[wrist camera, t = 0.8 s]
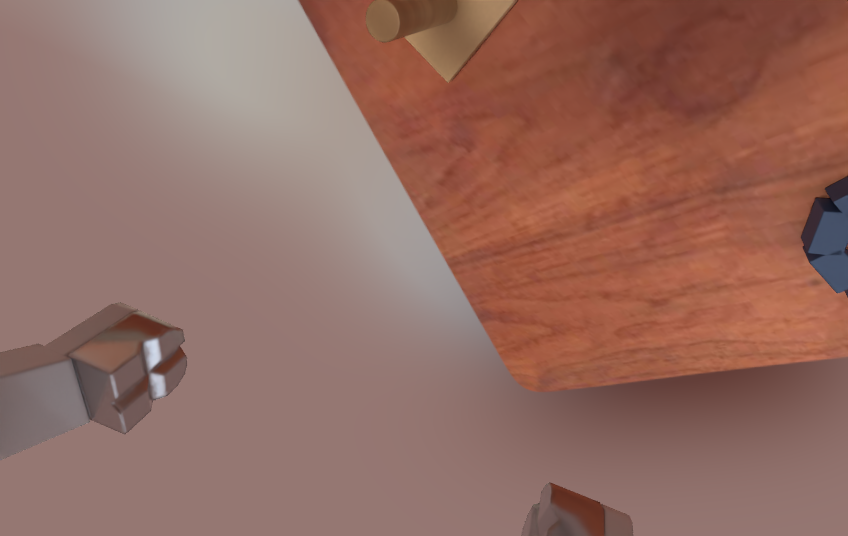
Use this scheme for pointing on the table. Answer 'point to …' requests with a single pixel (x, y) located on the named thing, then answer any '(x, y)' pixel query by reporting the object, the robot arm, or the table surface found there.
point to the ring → (829, 236)
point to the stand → (438, 27)
